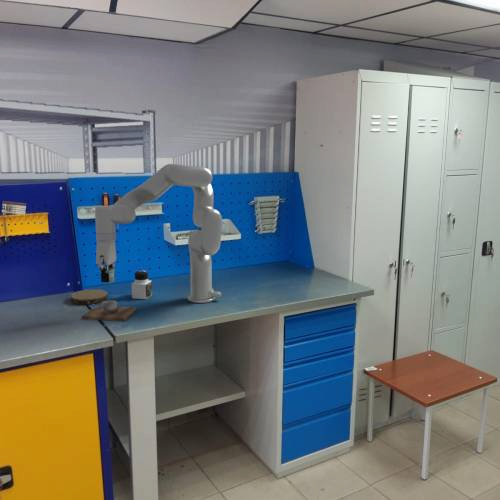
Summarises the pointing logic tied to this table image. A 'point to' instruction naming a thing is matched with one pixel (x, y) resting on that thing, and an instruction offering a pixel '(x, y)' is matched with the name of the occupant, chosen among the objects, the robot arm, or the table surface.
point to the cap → (111, 275)
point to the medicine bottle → (141, 286)
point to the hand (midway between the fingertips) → (108, 279)
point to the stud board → (117, 316)
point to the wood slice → (89, 297)
